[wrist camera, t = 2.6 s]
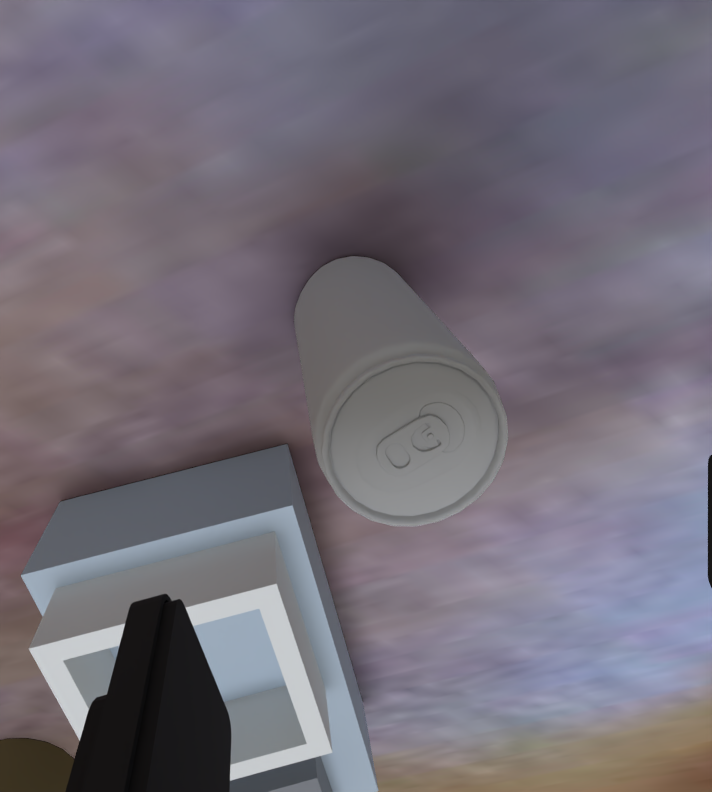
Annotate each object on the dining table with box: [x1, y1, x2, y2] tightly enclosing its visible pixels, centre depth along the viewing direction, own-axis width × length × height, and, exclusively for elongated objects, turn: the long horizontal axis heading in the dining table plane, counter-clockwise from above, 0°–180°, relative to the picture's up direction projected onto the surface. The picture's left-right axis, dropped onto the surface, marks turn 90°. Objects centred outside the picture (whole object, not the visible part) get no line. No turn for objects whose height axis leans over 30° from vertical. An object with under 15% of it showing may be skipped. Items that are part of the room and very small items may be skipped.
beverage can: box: [294, 256, 508, 526], centre depth 21 cm, size 5×5×12 cm
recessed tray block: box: [21, 444, 378, 792], centre depth 28 cm, size 19×10×8 cm, turn 12°
